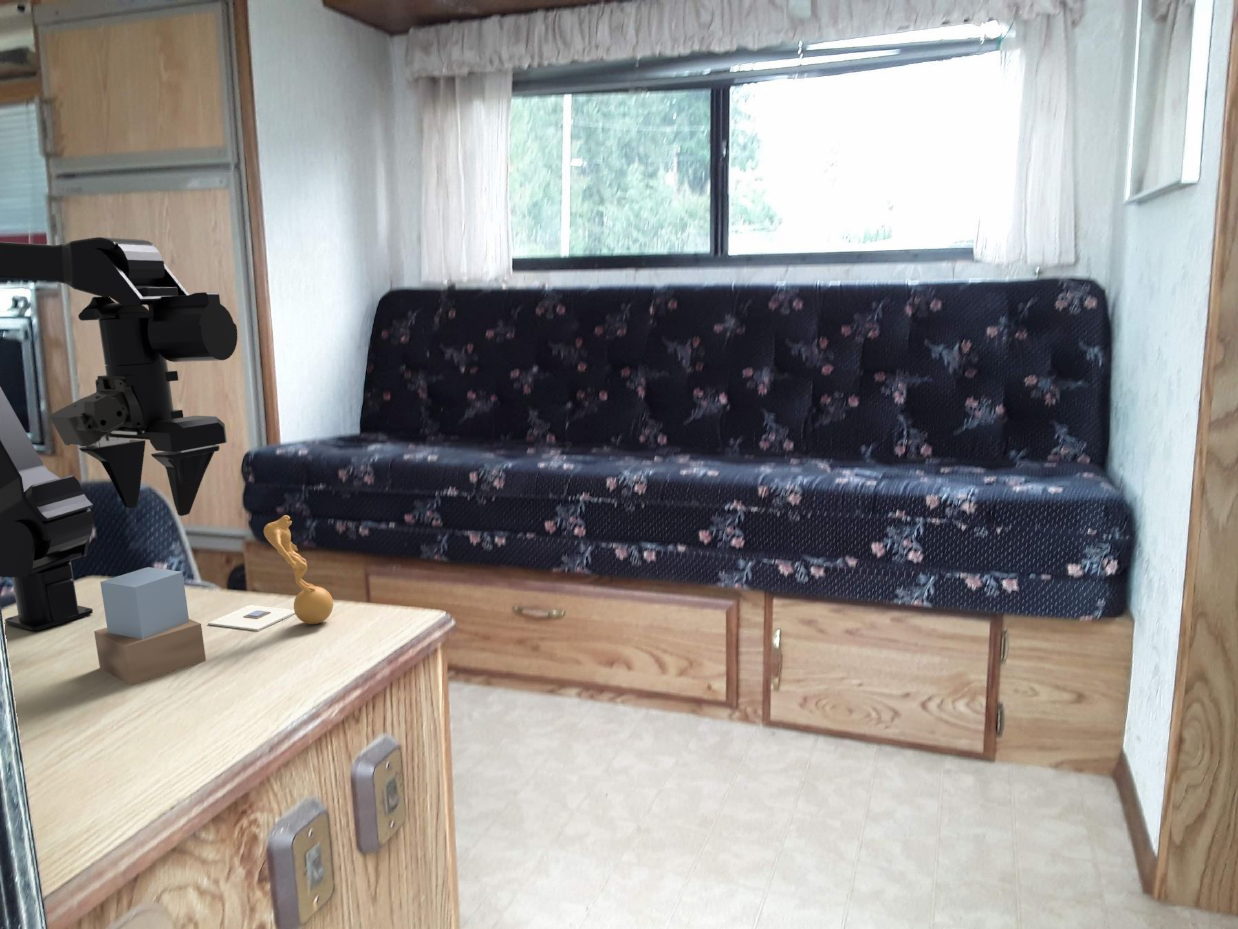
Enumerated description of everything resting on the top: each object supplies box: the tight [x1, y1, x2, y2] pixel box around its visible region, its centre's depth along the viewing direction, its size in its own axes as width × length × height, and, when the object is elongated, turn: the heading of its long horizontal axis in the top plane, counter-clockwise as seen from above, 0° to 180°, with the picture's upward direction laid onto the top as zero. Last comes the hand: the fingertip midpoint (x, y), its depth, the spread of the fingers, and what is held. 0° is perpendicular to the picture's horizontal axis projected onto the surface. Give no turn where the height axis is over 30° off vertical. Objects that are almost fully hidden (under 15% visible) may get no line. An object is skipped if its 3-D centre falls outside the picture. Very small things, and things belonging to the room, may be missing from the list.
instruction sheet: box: [207, 604, 296, 632], centre depth 102 cm, size 7×6×1 cm
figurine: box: [263, 514, 334, 625], centre depth 98 cm, size 8×6×12 cm
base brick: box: [93, 618, 207, 686], centre depth 90 cm, size 7×7×4 cm
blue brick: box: [99, 566, 190, 639], centre depth 89 cm, size 5×5×5 cm
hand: (157, 511), depth 99 cm, fingers open, 9 cm apart
